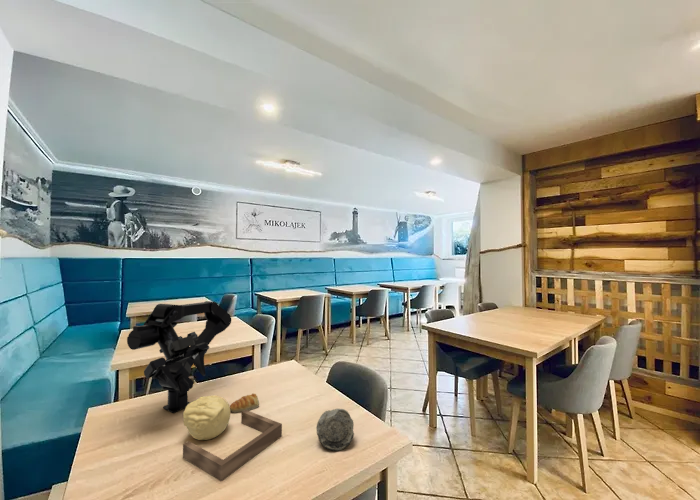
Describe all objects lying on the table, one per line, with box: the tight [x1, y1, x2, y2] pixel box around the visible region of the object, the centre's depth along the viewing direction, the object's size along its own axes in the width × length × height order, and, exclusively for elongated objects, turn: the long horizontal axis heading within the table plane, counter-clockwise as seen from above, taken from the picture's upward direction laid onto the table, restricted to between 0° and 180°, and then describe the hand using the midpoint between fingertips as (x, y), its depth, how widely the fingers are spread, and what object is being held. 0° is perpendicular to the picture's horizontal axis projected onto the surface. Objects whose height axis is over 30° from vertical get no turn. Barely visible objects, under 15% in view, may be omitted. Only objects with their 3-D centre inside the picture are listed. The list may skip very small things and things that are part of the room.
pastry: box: [229, 392, 260, 414], centre depth 103 cm, size 9×7×4 cm
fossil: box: [315, 408, 355, 452], centre depth 85 cm, size 11×9×10 cm
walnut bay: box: [182, 410, 283, 482], centre depth 82 cm, size 16×20×4 cm
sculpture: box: [182, 394, 231, 441], centre depth 88 cm, size 11×12×11 cm
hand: (191, 381), depth 93 cm, fingers open, 9 cm apart
